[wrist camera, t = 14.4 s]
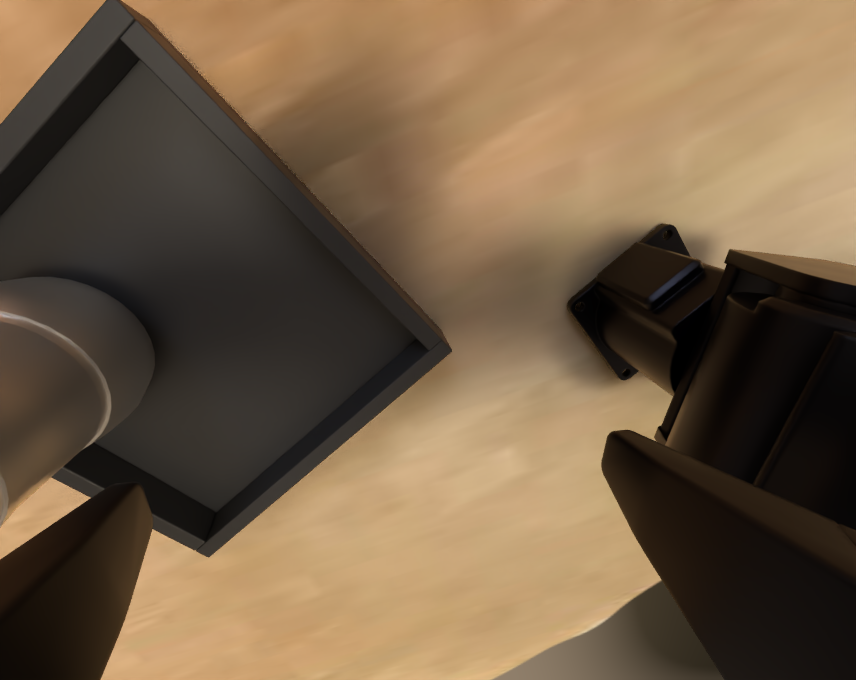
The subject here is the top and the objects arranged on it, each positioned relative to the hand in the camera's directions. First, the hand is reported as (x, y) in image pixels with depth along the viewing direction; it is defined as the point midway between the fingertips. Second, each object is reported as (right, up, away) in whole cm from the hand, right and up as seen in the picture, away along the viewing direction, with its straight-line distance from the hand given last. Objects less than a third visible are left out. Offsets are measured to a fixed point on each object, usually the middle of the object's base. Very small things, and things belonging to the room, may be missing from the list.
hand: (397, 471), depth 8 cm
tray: (-10, +3, +11) cm, 15 cm away
